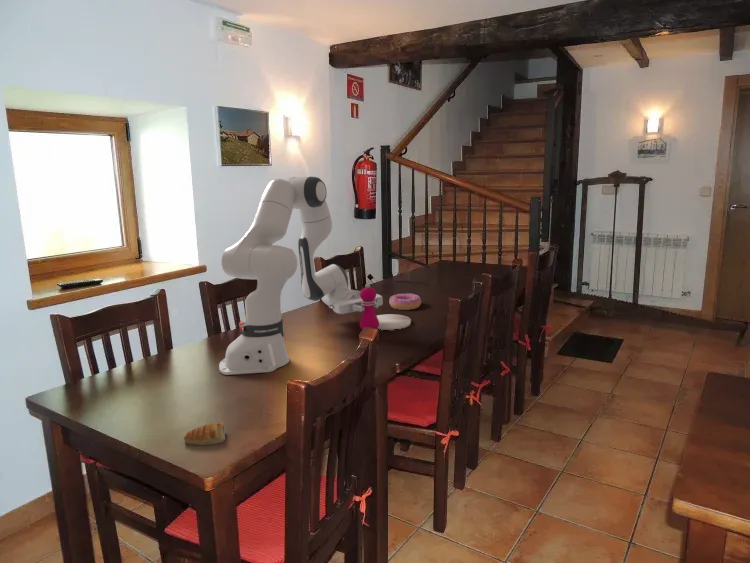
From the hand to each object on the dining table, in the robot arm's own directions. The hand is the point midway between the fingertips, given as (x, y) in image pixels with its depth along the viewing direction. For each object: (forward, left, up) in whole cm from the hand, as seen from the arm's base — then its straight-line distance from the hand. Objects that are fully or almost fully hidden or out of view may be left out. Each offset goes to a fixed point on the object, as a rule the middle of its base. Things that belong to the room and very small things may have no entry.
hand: (370, 307), depth 198 cm
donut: (+26, +36, -12) cm, 46 cm away
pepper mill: (0, +1, -11) cm, 11 cm away
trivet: (+11, +13, -11) cm, 20 cm away
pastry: (-57, -62, -12) cm, 85 cm away
